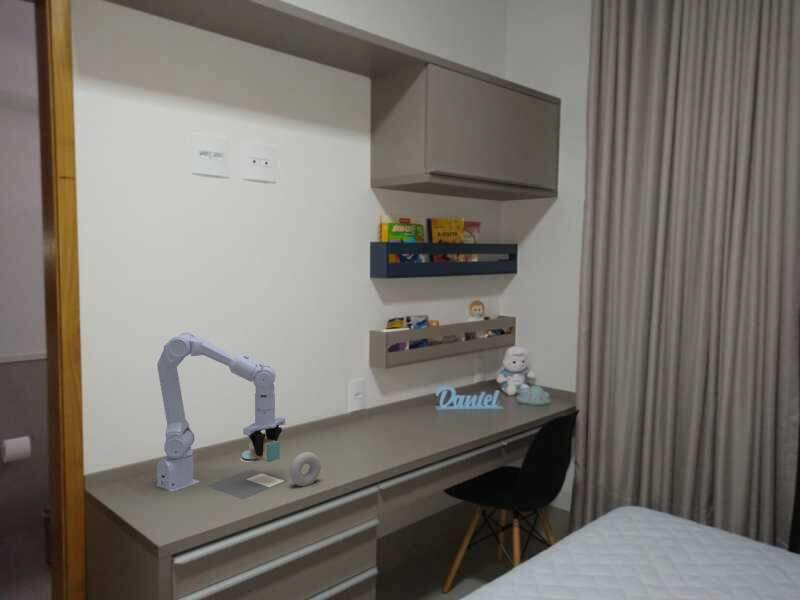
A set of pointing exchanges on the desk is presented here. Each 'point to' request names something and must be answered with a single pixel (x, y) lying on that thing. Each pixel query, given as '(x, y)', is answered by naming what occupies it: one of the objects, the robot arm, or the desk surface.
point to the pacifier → (247, 455)
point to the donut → (312, 472)
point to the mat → (247, 483)
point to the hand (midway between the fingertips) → (265, 453)
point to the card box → (268, 450)
